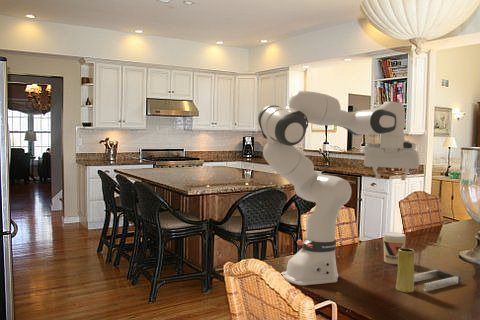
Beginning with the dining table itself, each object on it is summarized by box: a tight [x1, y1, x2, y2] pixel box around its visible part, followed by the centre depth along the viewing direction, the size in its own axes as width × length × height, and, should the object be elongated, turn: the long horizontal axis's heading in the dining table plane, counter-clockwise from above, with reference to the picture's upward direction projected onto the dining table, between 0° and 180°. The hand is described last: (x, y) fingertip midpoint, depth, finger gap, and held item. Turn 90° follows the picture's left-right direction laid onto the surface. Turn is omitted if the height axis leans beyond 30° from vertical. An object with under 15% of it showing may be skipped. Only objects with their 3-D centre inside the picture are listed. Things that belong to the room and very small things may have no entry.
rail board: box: [414, 268, 462, 292], centre depth 158 cm, size 20×10×2 cm, turn 119°
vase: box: [395, 247, 415, 293], centre depth 151 cm, size 6×6×14 cm
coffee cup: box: [382, 231, 407, 265], centre depth 185 cm, size 9×9×12 cm
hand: (390, 179), depth 167 cm, fingers open, 8 cm apart
